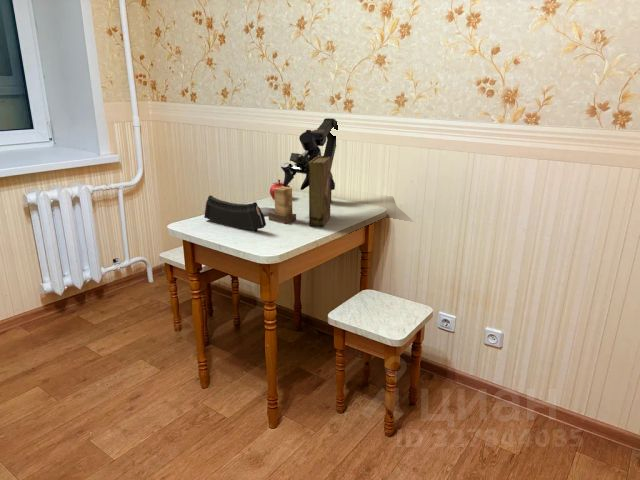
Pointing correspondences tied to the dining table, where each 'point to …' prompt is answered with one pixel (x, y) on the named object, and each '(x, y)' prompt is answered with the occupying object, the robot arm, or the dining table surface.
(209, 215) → the magazine
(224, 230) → the dining table surface
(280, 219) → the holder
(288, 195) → the oak block
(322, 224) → the book
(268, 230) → the dining table surface
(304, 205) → the dining table surface
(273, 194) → the pomegranate
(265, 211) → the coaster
